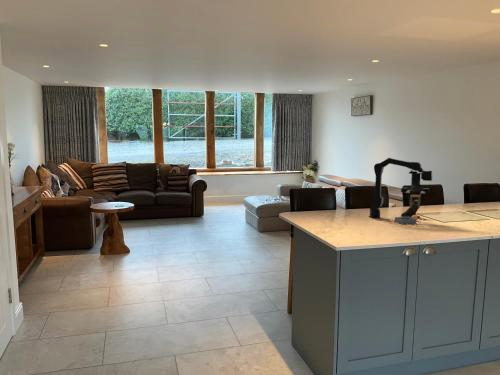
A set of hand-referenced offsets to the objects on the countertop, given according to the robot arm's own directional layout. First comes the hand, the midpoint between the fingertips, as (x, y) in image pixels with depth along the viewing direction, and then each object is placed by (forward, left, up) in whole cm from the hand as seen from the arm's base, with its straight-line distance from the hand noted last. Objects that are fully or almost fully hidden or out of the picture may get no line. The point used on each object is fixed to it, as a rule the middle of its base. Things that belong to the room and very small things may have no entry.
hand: (414, 202), depth 290 cm
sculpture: (+5, +14, -13) cm, 20 cm away
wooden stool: (0, 0, -3) cm, 3 cm away
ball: (0, 0, -11) cm, 11 cm away
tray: (-10, -6, -13) cm, 17 cm away
